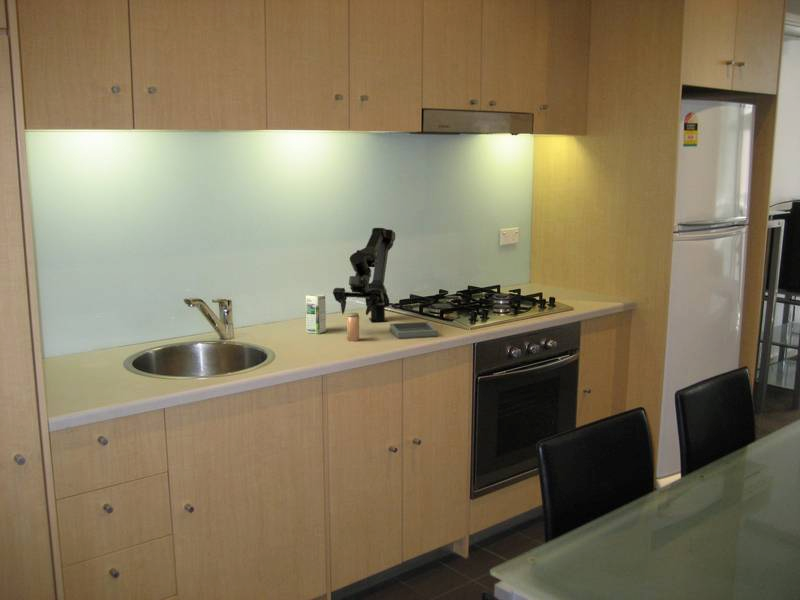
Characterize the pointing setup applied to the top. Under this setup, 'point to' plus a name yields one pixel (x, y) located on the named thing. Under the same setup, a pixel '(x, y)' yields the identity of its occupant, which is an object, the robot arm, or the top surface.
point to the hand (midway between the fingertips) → (354, 313)
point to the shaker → (353, 327)
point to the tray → (413, 330)
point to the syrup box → (315, 314)
